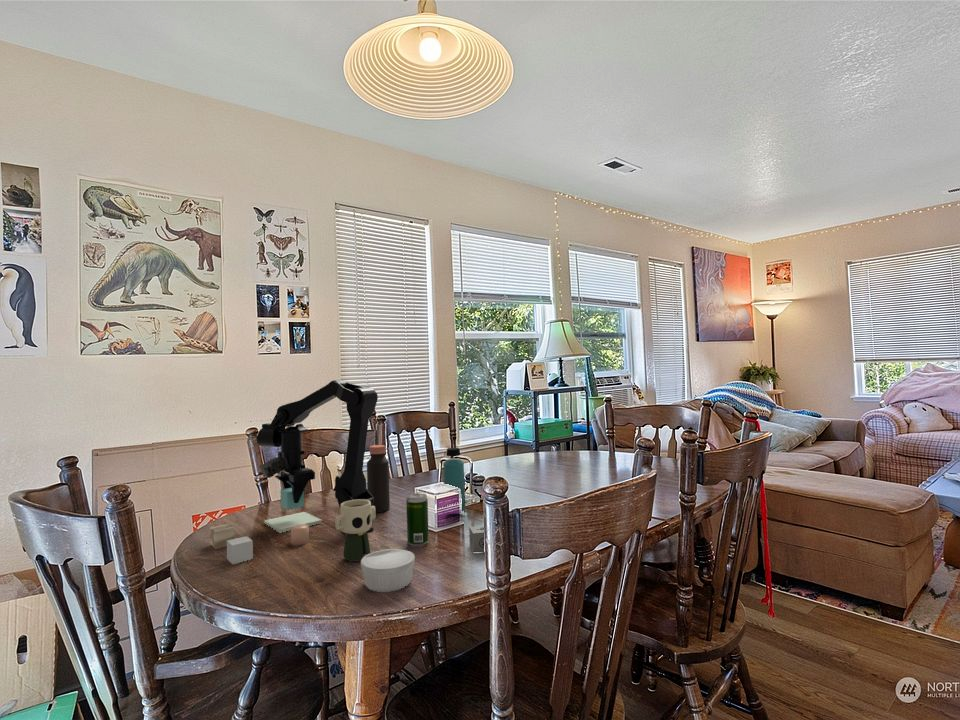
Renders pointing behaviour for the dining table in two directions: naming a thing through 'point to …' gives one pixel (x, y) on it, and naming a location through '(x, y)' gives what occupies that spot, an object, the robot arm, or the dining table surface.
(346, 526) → the character mug
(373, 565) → the ramekin
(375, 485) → the dark water bottle
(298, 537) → the terracotta cylinder
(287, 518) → the sage pad
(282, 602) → the dining table surface
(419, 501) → the beer can
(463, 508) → the beverage bottle
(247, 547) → the grey plastic block
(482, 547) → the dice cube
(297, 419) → the robot arm
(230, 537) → the birch block
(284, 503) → the teal block
